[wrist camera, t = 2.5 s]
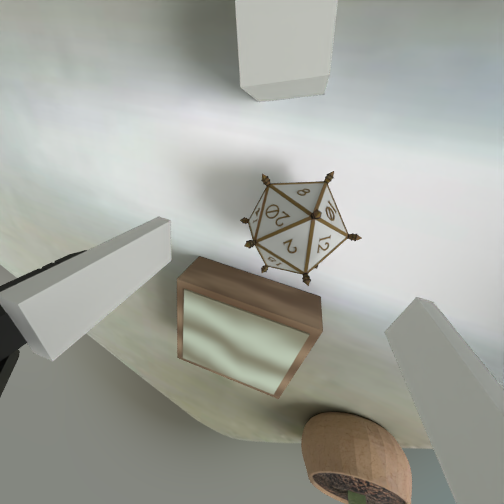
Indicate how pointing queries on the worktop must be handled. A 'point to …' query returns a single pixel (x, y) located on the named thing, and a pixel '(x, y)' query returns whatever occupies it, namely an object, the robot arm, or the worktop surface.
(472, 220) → the worktop surface
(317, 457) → the potted plant
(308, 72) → the grey block
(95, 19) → the worktop surface
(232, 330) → the walnut framed mirror
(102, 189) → the worktop surface
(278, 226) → the game die
